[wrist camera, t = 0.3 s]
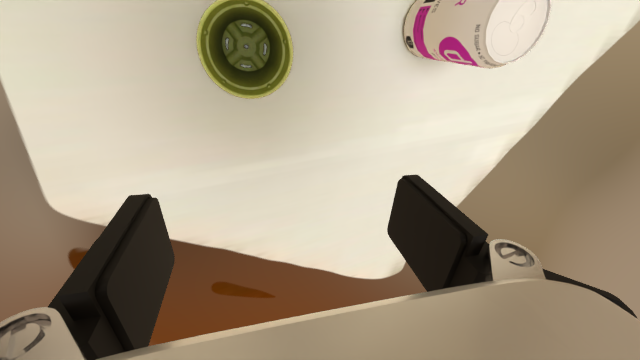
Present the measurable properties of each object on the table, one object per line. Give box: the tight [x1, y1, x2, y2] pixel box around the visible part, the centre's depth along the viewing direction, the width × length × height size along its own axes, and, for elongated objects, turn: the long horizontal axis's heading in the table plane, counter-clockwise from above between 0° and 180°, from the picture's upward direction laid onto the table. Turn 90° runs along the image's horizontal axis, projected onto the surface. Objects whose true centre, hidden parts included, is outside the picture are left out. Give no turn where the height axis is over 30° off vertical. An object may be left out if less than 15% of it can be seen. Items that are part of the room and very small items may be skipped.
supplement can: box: [404, 0, 551, 69], centre depth 31 cm, size 8×8×15 cm
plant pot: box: [196, 0, 293, 99], centre depth 30 cm, size 9×9×9 cm
